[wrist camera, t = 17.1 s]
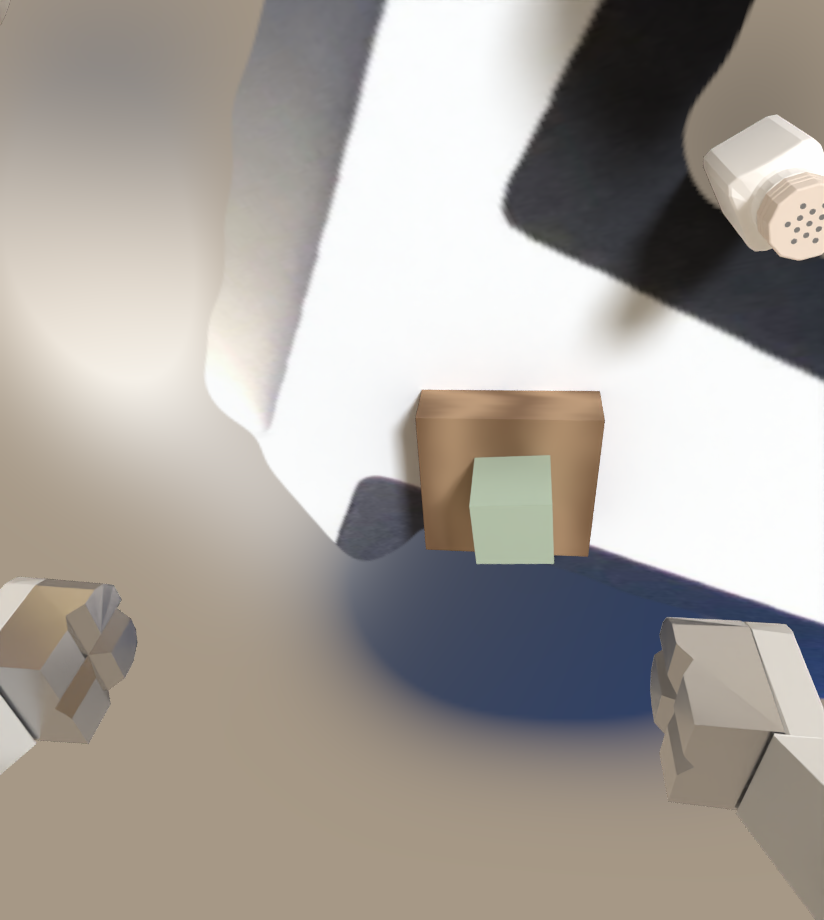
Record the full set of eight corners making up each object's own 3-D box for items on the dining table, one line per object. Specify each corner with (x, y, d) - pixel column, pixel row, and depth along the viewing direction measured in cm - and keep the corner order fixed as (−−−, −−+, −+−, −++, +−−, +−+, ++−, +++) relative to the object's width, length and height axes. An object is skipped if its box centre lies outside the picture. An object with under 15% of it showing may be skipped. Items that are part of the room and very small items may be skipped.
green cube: (480, 513, 48) (476, 563, 44) (474, 457, 45) (469, 506, 41) (551, 512, 47) (554, 563, 43) (550, 455, 44) (552, 504, 40)
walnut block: (431, 514, 54) (426, 549, 51) (422, 386, 47) (415, 417, 43) (583, 519, 52) (587, 556, 49) (598, 387, 45) (604, 420, 42)
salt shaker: (800, 177, 35) (875, 238, 28) (723, 218, 37) (774, 286, 29) (776, 106, 33) (848, 152, 26) (696, 153, 35) (743, 208, 28)
